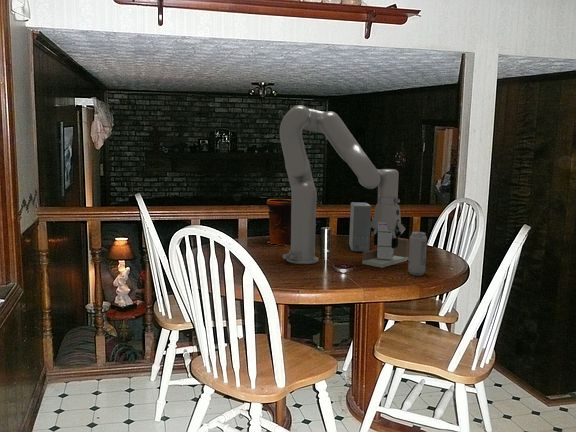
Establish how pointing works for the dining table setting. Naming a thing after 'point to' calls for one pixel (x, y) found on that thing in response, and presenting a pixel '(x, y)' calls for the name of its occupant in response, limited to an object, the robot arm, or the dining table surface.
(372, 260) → the shelf
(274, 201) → the vessel
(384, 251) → the syrup box
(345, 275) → the dining table surface
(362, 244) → the hard drive box
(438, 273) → the dining table surface
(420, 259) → the energy drink can
